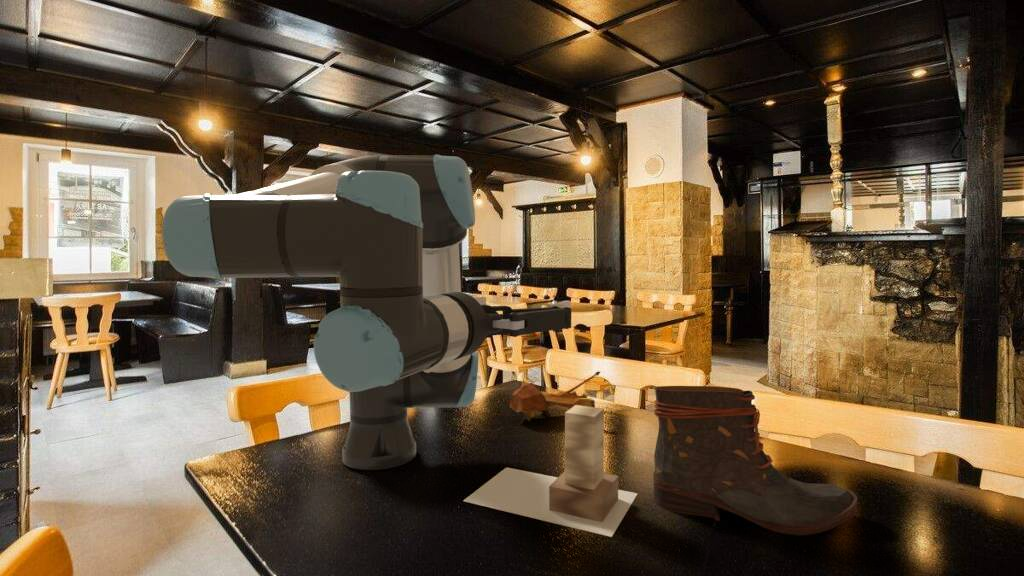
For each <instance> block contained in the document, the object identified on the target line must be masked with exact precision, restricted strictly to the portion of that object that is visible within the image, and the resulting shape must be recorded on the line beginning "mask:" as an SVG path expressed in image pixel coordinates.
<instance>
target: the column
mask: <svg viewBox="0 0 1024 576" xmlns="http://www.w3.org/2000/svg"><path fill="white" fill-rule="evenodd" d="M604 409H605V408H600V407H596V406H595V407H587V406H580V405H575V406H574V407H572V408H571V409H570V408H568V410H566V411H565V412H564V471H565V484H567V485H572V486H577V487H582V488H587V489H591V490H595V488H596V487H597V486H598V485H599V483H600V482H601V481H602V480H603V473H604V455H605V454H604V442H605V441H604V436H605V435H604V431H605V427H604V426H605V424H604V423H605V422H604V421H605V416H604V413H605V410H604Z"/></svg>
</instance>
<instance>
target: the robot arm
mask: <svg viewBox="0 0 1024 576" xmlns="http://www.w3.org/2000/svg"><path fill="white" fill-rule="evenodd" d="M475 210H476V209H475V202H474V192H473V186H472V180H471V175H470V171H469V167H468V165H467V163H466V161H465V160H464V159H462V158H461V157H459V156H454V155H453V156H451V155H448V156H447V155H440V154H434V155H378V154H377V155H375V154H373V155H365V156H364V155H363V156H360V157H359V156H358V157H353V158H349V159H345V160H341V161H338V162H334V163H330V164H326V165H323V166H319V167H318V168H317V169H315V170H313V171H312V172H311V173H310V174H309V176H307V177H303V178H302V177H301V178H299V179H295V180H290V181H287V182H282V183H278V184H274V185H270V186H267V187H262V188H259V189H255V190H249V191H245V192H240V193H235V194H222V195H221V194H212V193H204V194H203V195H185V196H180V197H178V198H176V199H174V200H173V201H172V202H171V203H170V204H168V206H167V208H166V210H165V212H164V215H163V218H162V223H161V238H162V243H163V250H164V253H165V256H166V258H167V260H168V261H169V263H170V265H171V266H172V267H173V268H174V269H175V270H176V272H179V273H180V274H182V275H183V276H186V277H189V278H192V277H193V278H211V279H213V278H215V279H216V280H218V281H220V280H223V279H240V278H241V279H242V278H243V279H247V278H248V279H250V278H252V279H253V278H303V277H305V278H306V277H307V278H324V277H325V278H327V277H328V278H329V277H330V278H333V277H334V278H335V277H337V278H338V280H339V294H340V295H339V296H340V298H339V299H340V307H339V308H337V309H334V310H332V311H330V312H328V313H327V314H326V315H324V317H323V318H322V319H321V320H320V322H319V324H318V330H317V332H316V334H315V335H314V339H313V354H314V360H315V361H316V365H317V366H318V369H319V371H320V373H321V374H322V375H323V377H324V378H325V379H326V380H327V382H328V383H330V384H331V385H332V386H334V387H336V388H337V389H340V390H342V391H346V392H347V393H349V412H350V413H349V417H350V419H349V423H350V424H349V427H348V430H347V432H346V433H347V434H346V436H345V441H344V444H343V446H342V451H341V452H342V453H341V454H342V455H341V457H342V461H341V462H342V463H343V465H344V466H346V467H349V468H351V469H354V470H361V471H362V470H363V471H379V470H386V469H387V470H388V469H391V468H392V469H393V468H396V467H400V466H402V465H405V464H407V463H409V462H411V461H412V460H413V459H414V458H415V457H417V443H416V440H415V438H414V435H413V432H412V429H411V428H412V427H411V426H410V423H409V420H408V419H409V418H408V409H409V408H410V409H411V408H413V409H415V408H452V409H454V408H458V407H459V408H460V407H468V406H470V405H471V404H473V402H474V400H475V397H476V391H477V383H478V373H479V353H478V350H479V349H480V348H481V346H482V345H483V343H484V342H485V340H486V339H489V338H491V337H493V336H502V335H509V336H510V337H512V338H516V337H520V336H523V335H527V334H535V333H543V332H544V333H545V332H550V331H552V332H555V333H560V332H561V330H568V329H571V328H572V307H571V306H572V302H571V300H562V301H558V302H555V303H551V304H547V306H546V307H527V308H526V307H525V308H512V307H511V306H508V305H493V306H492V305H489V304H487V297H486V296H479V297H473V296H472V295H470V294H468V293H466V292H462V285H461V282H462V281H461V266H460V265H461V263H460V262H461V261H460V260H461V259H460V243H462V242H463V241H464V240H465V239H466V237H467V234H468V229H470V228H472V227H474V226H475V224H476V212H475ZM499 312H502V315H501V314H500V313H499Z"/></svg>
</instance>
